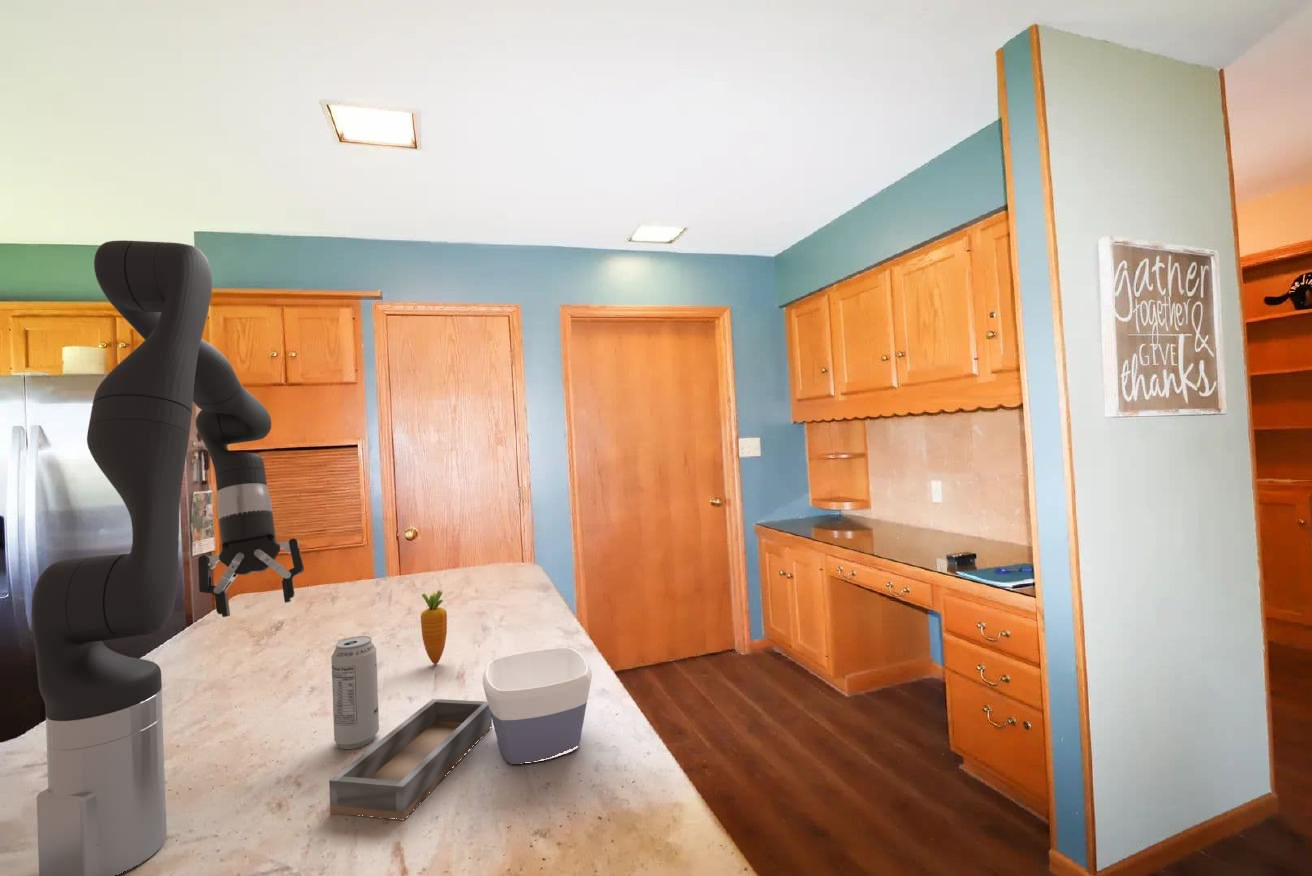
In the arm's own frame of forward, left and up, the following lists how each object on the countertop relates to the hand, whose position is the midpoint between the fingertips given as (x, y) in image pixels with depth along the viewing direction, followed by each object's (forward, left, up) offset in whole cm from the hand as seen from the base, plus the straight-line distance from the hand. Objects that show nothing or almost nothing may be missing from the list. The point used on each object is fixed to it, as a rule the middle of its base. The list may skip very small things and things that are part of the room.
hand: (257, 609), depth 95 cm
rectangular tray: (-9, -35, -18) cm, 41 cm away
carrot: (+25, -16, -18) cm, 35 cm away
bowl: (-2, -50, -19) cm, 53 cm away
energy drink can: (-4, -21, -18) cm, 29 cm away
